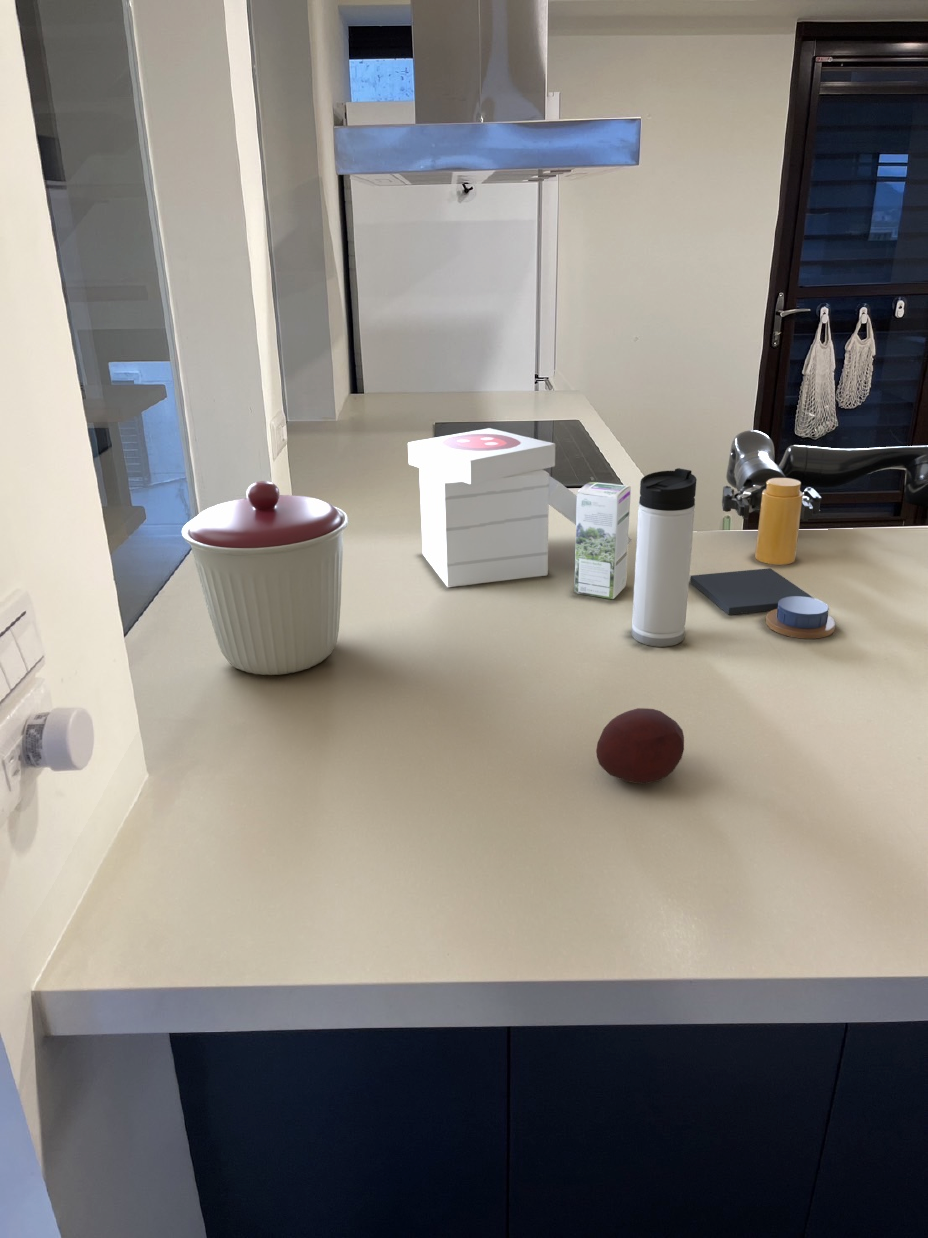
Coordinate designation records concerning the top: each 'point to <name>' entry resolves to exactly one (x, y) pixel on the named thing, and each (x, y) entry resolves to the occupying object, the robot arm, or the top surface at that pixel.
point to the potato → (640, 746)
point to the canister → (271, 577)
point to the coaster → (799, 632)
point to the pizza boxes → (487, 505)
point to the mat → (746, 590)
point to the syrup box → (601, 539)
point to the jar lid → (802, 612)
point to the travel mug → (663, 557)
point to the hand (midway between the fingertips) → (776, 513)
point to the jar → (779, 521)
